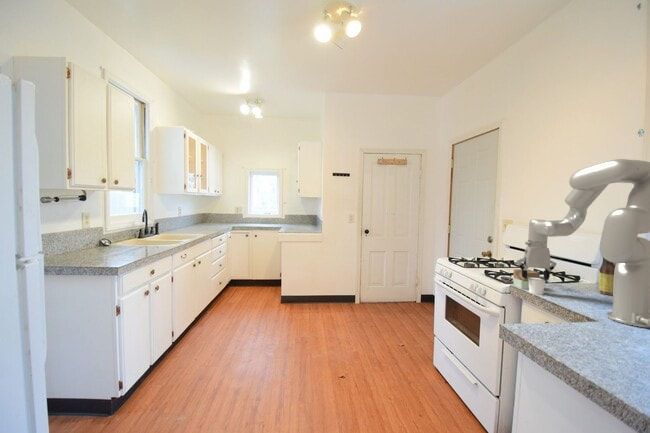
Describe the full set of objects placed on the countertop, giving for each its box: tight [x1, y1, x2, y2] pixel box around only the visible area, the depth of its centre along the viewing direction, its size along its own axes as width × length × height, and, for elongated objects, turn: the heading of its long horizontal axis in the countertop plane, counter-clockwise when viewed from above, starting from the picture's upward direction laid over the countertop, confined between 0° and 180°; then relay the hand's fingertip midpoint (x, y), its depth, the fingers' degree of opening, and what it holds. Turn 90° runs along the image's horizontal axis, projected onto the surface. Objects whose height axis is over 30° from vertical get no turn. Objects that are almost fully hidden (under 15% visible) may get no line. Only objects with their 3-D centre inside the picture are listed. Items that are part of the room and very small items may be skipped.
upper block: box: [512, 268, 540, 281], centre depth 147 cm, size 8×8×4 cm
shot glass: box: [528, 277, 546, 296], centre depth 137 cm, size 7×7×7 cm
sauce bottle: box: [598, 255, 616, 297], centre depth 136 cm, size 7×6×20 cm
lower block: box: [513, 277, 529, 290], centre depth 147 cm, size 8×8×4 cm
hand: (535, 278), depth 138 cm, fingers open, 9 cm apart
